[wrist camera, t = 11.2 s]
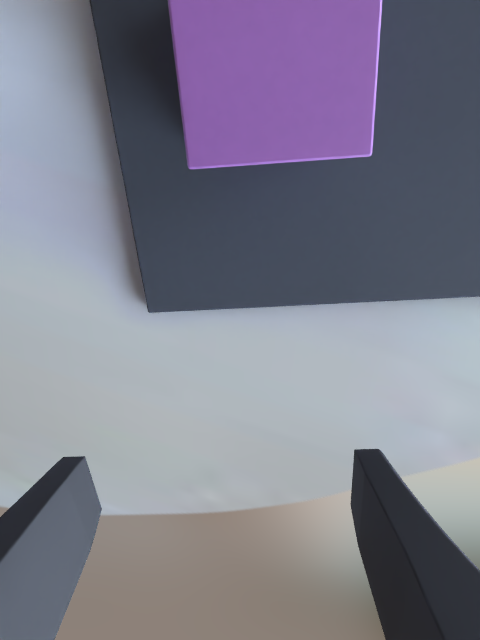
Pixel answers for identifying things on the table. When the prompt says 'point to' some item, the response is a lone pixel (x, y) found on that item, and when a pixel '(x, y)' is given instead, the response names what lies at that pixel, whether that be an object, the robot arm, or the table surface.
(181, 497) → the table surface
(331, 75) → the block
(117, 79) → the mat
